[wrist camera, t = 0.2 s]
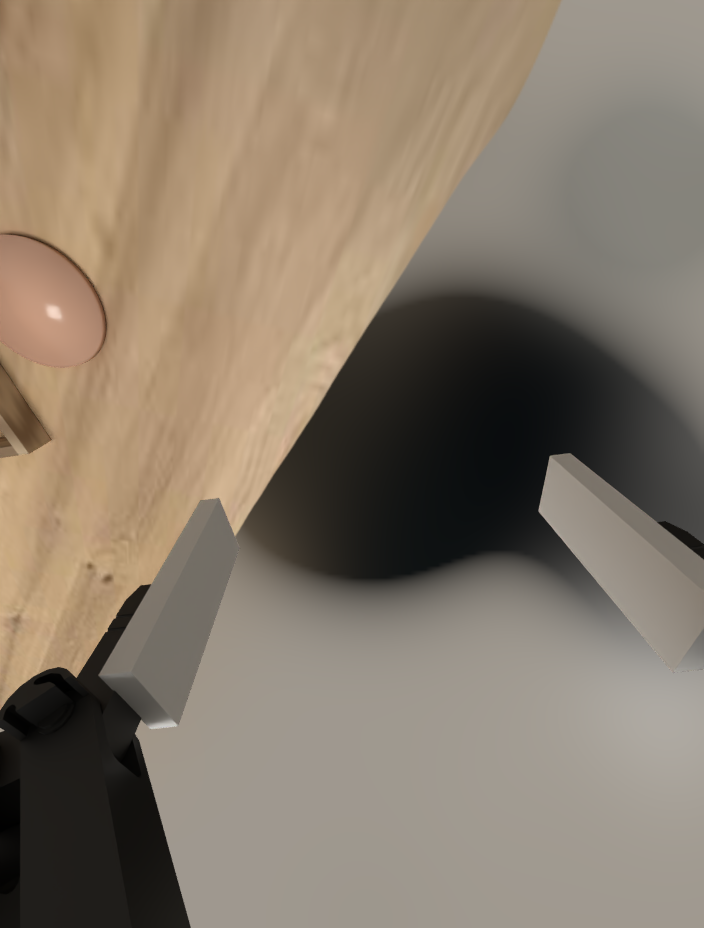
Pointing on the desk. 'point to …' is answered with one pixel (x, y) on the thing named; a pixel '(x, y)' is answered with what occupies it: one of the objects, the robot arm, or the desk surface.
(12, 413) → the frame
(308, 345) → the desk surface
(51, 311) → the saucer
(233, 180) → the desk surface
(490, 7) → the desk surface
